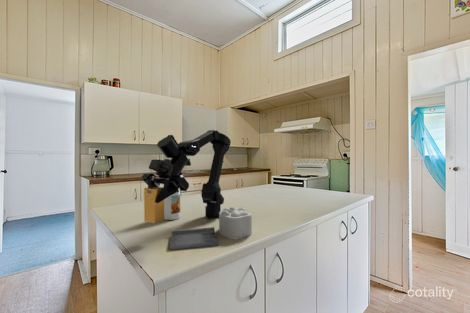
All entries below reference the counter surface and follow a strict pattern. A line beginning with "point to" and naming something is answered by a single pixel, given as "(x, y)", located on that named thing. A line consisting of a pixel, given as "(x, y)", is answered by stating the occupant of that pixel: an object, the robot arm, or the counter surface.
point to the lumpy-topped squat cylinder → (235, 223)
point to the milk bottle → (172, 207)
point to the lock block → (153, 205)
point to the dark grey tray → (193, 238)
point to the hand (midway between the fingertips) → (150, 201)
